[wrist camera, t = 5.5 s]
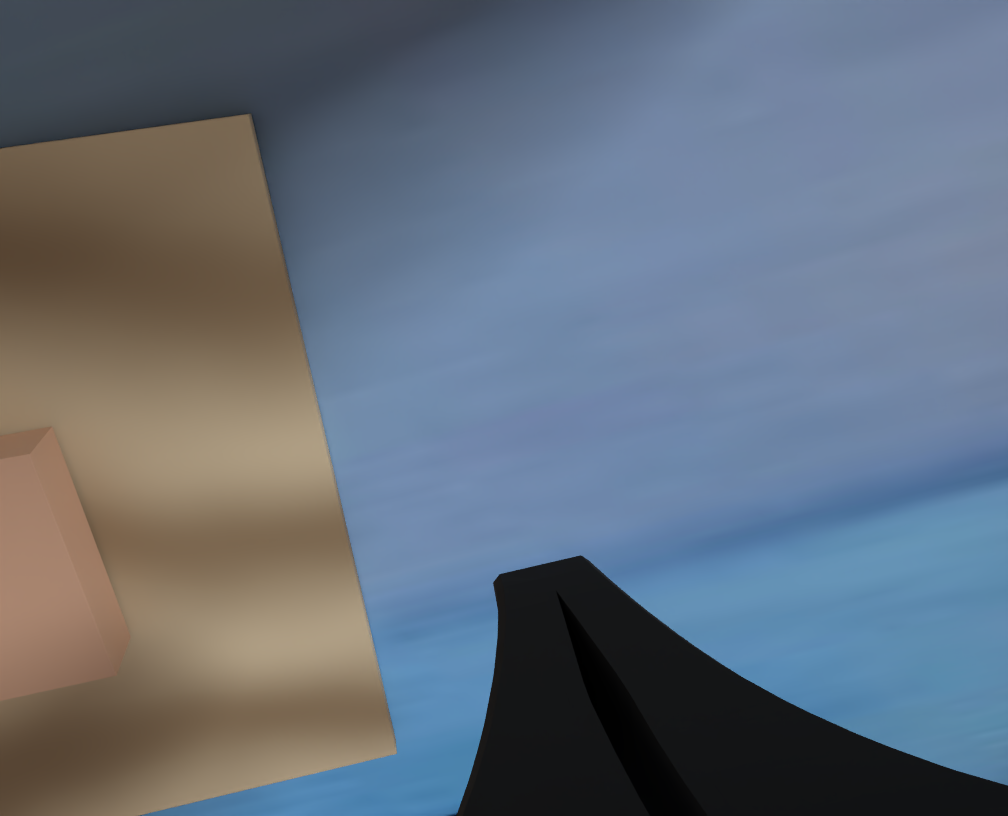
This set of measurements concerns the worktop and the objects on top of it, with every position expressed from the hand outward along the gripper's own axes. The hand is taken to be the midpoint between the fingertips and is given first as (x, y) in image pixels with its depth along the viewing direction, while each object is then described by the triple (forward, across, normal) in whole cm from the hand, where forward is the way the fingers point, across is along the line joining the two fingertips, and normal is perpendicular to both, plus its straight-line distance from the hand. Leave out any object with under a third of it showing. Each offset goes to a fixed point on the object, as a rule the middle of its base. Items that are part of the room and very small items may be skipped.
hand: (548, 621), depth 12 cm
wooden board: (+10, +11, +2) cm, 15 cm away
